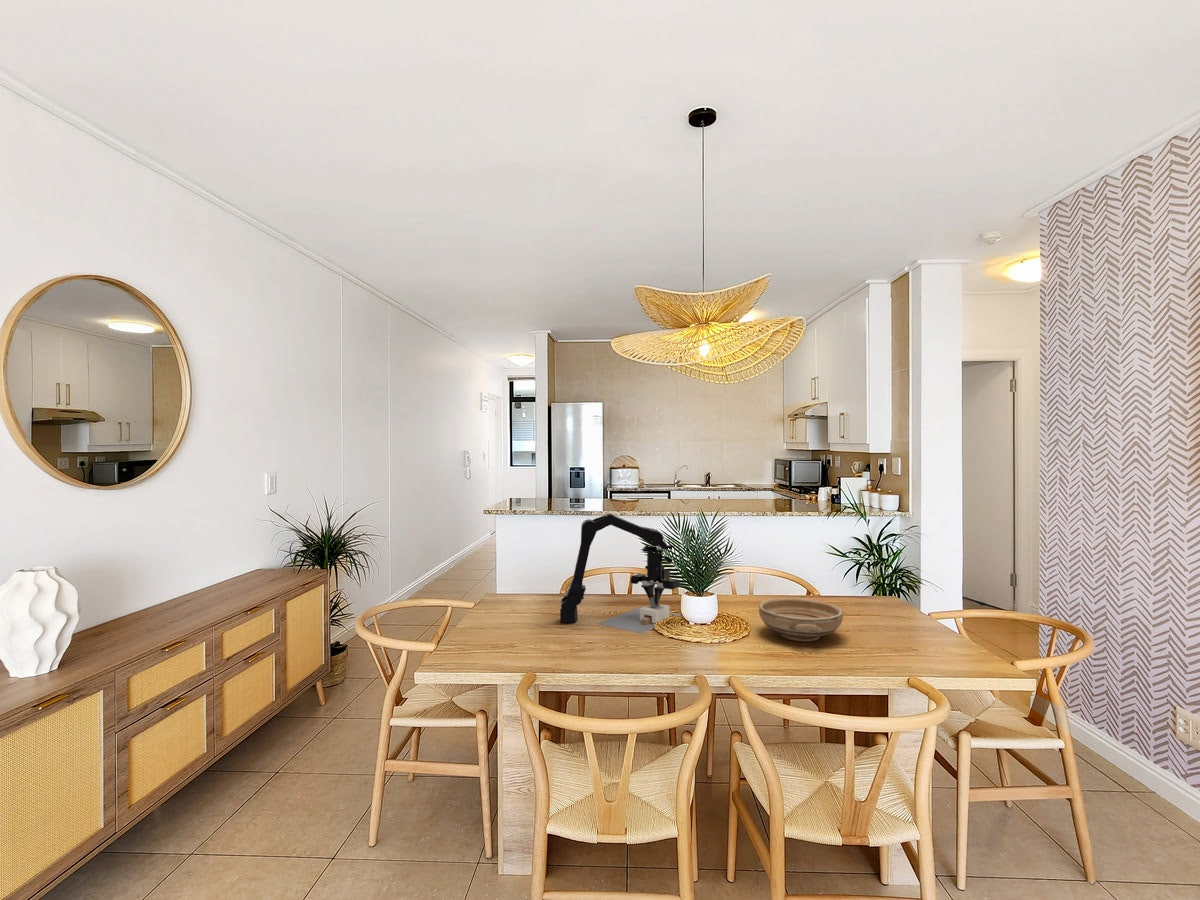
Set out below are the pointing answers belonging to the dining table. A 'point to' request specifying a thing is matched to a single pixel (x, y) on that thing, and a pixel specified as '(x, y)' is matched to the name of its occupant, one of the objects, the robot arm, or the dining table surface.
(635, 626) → the cleat board
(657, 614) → the cabinet block
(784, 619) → the ceramic bowl
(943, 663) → the dining table surface
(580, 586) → the robot arm
